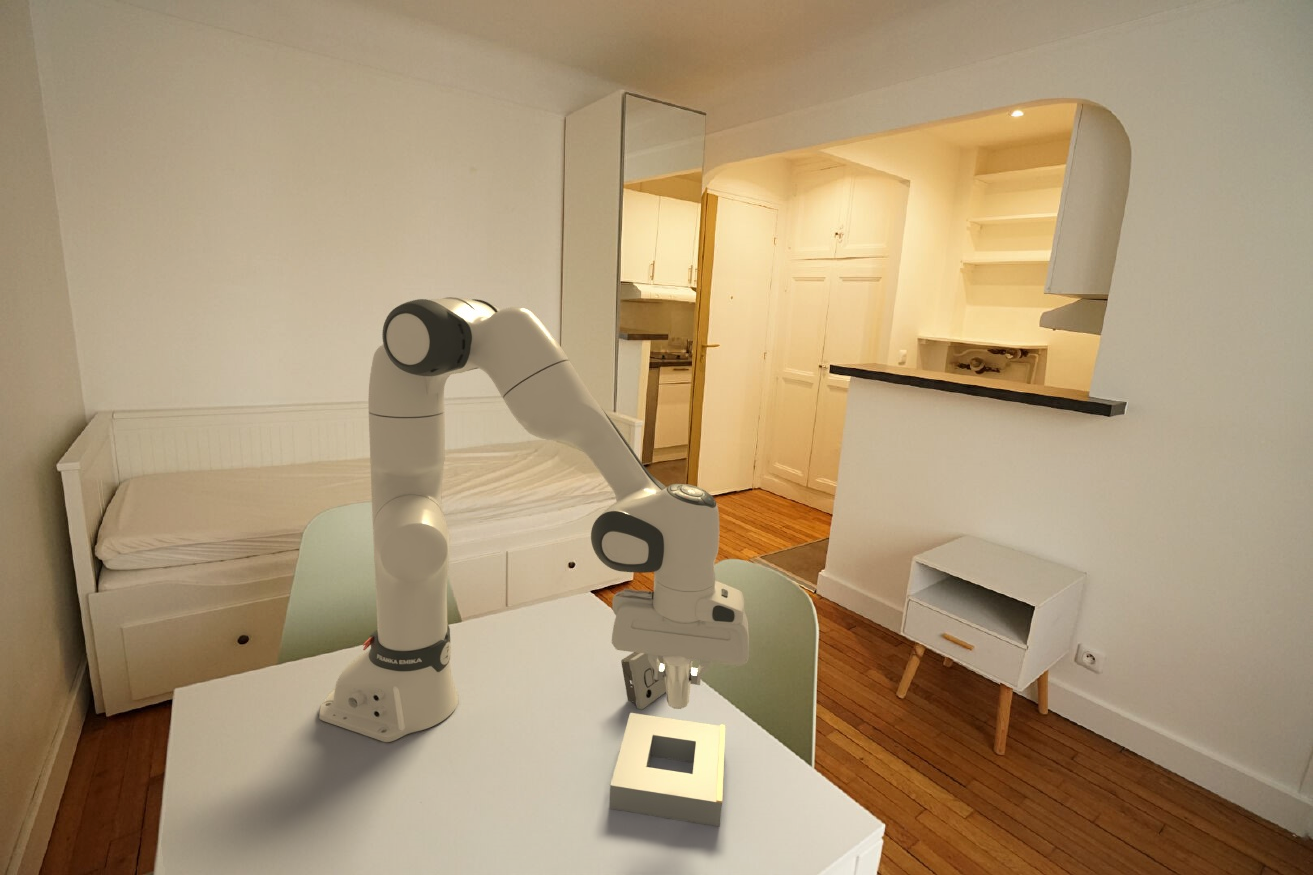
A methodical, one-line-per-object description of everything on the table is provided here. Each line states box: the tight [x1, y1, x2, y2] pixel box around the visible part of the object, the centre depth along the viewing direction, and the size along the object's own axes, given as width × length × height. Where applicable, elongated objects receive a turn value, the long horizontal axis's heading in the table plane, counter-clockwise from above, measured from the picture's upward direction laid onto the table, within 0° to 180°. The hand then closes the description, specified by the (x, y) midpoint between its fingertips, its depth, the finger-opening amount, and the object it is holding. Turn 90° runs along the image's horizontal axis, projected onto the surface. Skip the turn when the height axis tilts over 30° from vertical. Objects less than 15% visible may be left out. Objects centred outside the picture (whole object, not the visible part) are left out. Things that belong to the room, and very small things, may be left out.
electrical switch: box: [621, 652, 666, 710], centre depth 114 cm, size 9×5×9 cm, turn 141°
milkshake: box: [663, 656, 694, 710], centre depth 92 cm, size 4×5×10 cm
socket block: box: [608, 712, 726, 828], centre depth 95 cm, size 16×16×4 cm
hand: (677, 679), depth 92 cm, fingers closed on milkshake, 4 cm apart
